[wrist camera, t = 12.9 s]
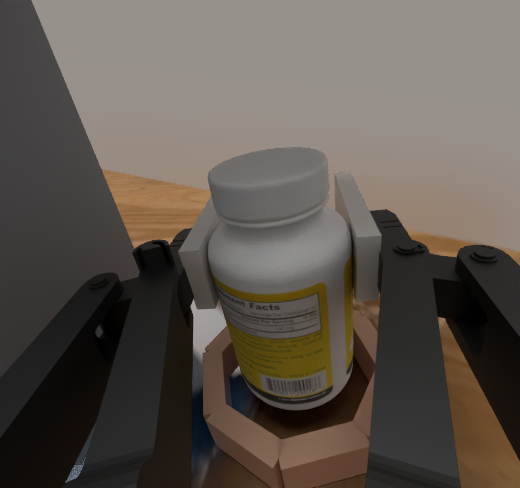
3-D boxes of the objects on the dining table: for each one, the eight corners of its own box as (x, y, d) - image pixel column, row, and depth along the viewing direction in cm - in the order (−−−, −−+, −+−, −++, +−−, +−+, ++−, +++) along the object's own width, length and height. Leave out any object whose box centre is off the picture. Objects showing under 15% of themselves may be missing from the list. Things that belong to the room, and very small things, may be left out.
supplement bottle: (296, 306, 18) (277, 137, 13) (377, 361, 14) (391, 148, 9) (219, 360, 16) (160, 174, 11) (291, 444, 12) (250, 212, 7)
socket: (176, 414, 16) (164, 390, 15) (272, 305, 22) (269, 282, 21) (347, 545, 11) (347, 522, 10) (412, 355, 17) (416, 328, 16)
